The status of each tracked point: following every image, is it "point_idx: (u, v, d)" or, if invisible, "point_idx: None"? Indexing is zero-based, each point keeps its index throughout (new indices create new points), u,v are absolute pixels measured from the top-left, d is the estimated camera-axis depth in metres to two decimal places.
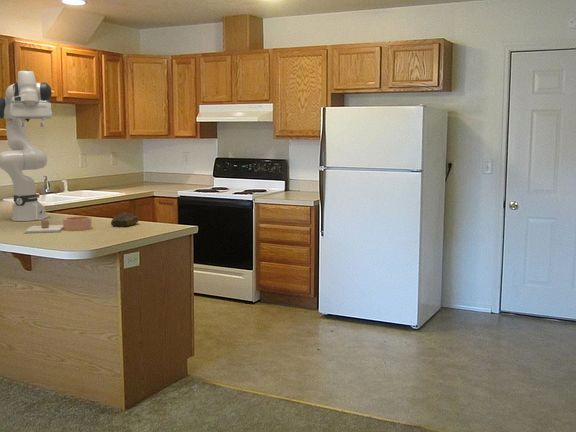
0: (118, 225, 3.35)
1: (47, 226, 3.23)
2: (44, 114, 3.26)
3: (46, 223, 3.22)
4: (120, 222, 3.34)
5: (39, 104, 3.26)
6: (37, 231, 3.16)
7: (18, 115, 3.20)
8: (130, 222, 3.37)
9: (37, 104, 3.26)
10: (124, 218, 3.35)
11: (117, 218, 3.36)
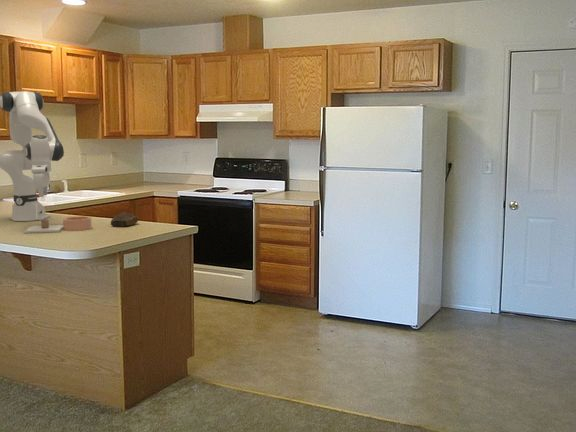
0: (118, 225, 3.35)
1: (47, 226, 3.23)
2: (48, 183, 3.27)
3: (46, 223, 3.22)
4: (120, 222, 3.34)
5: None
6: (37, 231, 3.16)
7: (43, 186, 3.15)
8: (130, 222, 3.37)
9: None
10: (124, 218, 3.35)
11: (117, 218, 3.36)
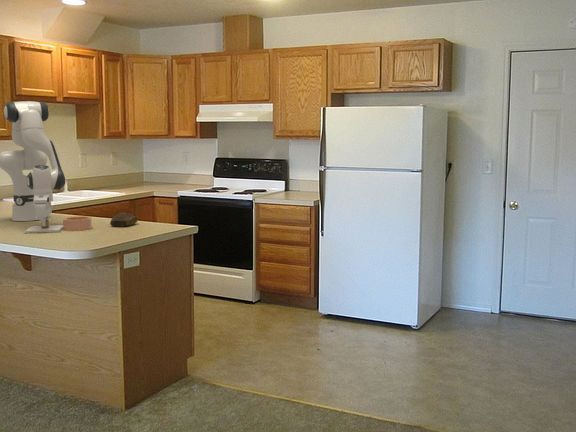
0: (118, 225, 3.35)
1: (47, 226, 3.23)
2: (50, 212, 3.29)
3: (46, 223, 3.22)
4: (120, 222, 3.34)
5: None
6: (37, 231, 3.16)
7: (45, 216, 3.17)
8: (129, 222, 3.37)
9: None
10: (124, 218, 3.35)
11: (116, 218, 3.36)
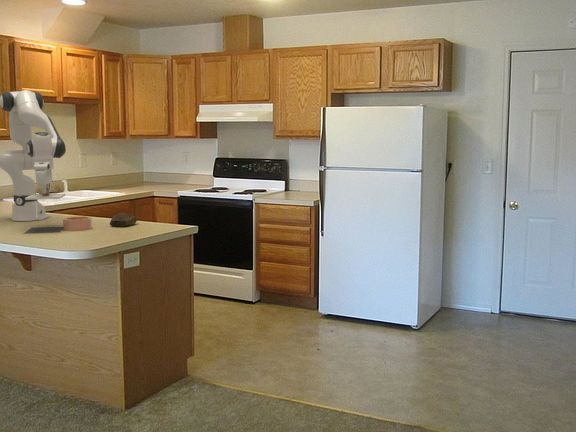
0: (117, 225, 3.34)
1: (47, 194, 3.21)
2: (51, 180, 3.27)
3: None
4: (119, 222, 3.34)
5: None
6: (37, 198, 3.14)
7: (46, 183, 3.15)
8: (129, 222, 3.37)
9: None
10: (123, 218, 3.35)
11: (116, 218, 3.35)
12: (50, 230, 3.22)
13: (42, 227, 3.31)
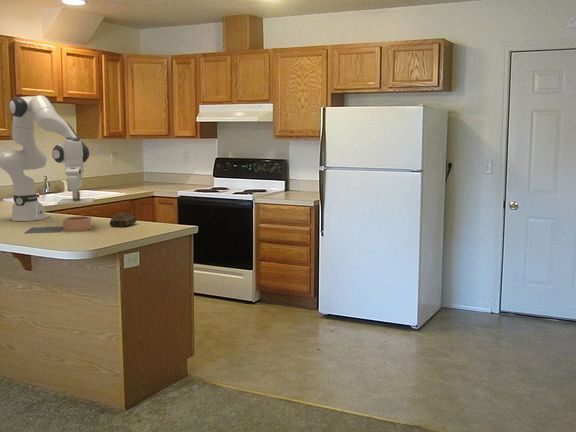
0: (117, 225, 3.34)
1: (78, 198, 3.23)
2: (81, 185, 3.30)
3: None
4: (119, 222, 3.34)
5: None
6: (69, 203, 3.16)
7: (77, 188, 3.18)
8: (129, 222, 3.37)
9: None
10: (123, 218, 3.35)
11: (116, 218, 3.35)
12: (50, 230, 3.22)
13: (42, 227, 3.31)
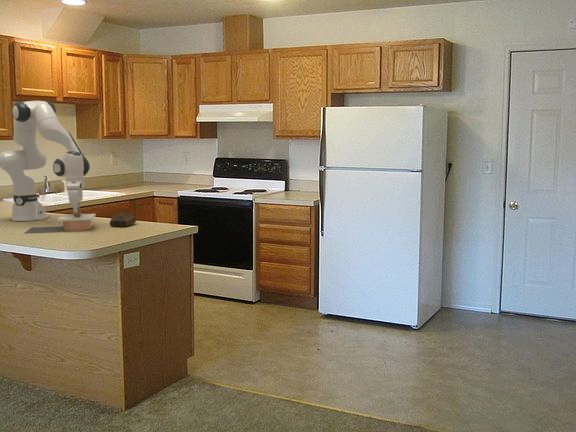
0: (117, 225, 3.34)
1: (79, 214, 3.25)
2: (81, 199, 3.31)
3: (78, 211, 3.24)
4: (119, 222, 3.33)
5: None
6: (70, 219, 3.18)
7: (78, 202, 3.19)
8: (129, 222, 3.37)
9: None
10: (123, 218, 3.34)
11: (116, 218, 3.35)
12: (50, 230, 3.22)
13: (42, 227, 3.31)
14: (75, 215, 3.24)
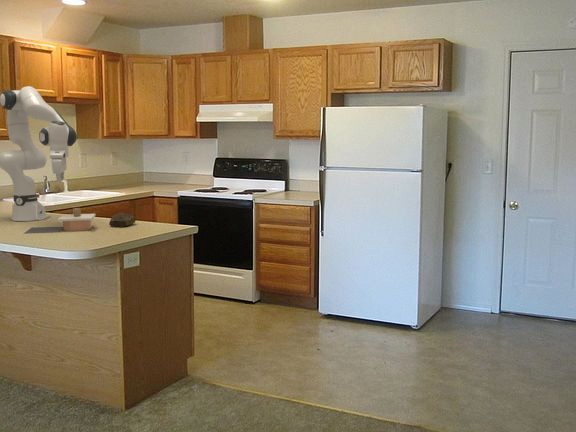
0: (117, 225, 3.34)
1: (79, 214, 3.25)
2: (65, 168, 3.34)
3: (78, 211, 3.24)
4: (119, 222, 3.33)
5: None
6: (70, 219, 3.18)
7: (61, 171, 3.22)
8: (129, 222, 3.37)
9: None
10: (123, 218, 3.34)
11: (116, 218, 3.35)
12: (50, 230, 3.22)
13: (42, 227, 3.31)
14: (75, 215, 3.24)
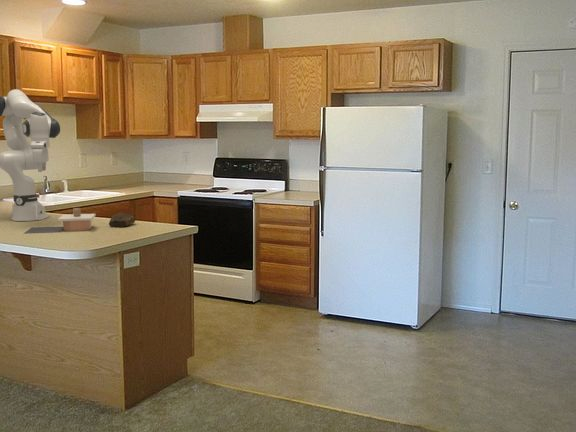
0: (117, 225, 3.34)
1: (79, 214, 3.25)
2: (47, 159, 3.39)
3: (78, 211, 3.24)
4: (119, 222, 3.33)
5: None
6: (70, 219, 3.18)
7: (42, 161, 3.27)
8: (129, 222, 3.37)
9: None
10: (123, 218, 3.34)
11: (115, 218, 3.35)
12: (50, 230, 3.22)
13: (42, 227, 3.31)
14: (75, 215, 3.24)
